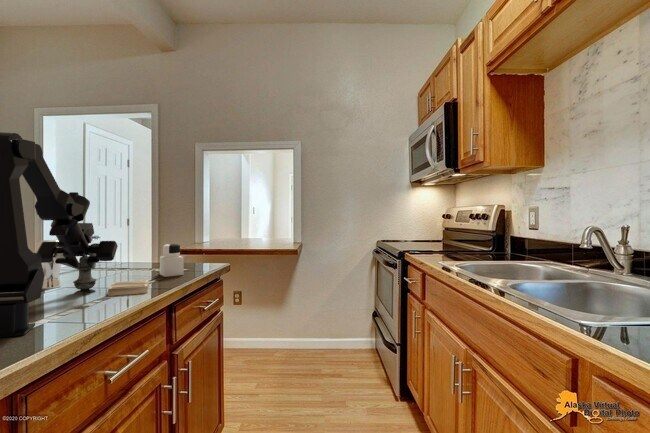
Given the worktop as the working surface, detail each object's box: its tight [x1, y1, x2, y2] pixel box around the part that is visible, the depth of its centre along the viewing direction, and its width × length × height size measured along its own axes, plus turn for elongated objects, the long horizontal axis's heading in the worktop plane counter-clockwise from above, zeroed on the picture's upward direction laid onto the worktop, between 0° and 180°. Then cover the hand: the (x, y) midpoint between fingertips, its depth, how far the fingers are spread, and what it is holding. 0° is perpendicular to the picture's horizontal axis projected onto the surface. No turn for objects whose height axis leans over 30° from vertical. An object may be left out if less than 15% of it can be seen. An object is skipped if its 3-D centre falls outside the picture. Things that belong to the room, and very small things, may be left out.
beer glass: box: [34, 239, 62, 290], centre depth 107 cm, size 7×7×15 cm
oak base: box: [107, 279, 150, 297], centre depth 103 cm, size 10×10×2 cm
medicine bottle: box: [159, 243, 185, 278], centre depth 131 cm, size 7×7×12 cm
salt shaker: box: [72, 255, 98, 296], centre depth 101 cm, size 6×6×12 cm
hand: (87, 268), depth 102 cm, fingers closed on salt shaker, 4 cm apart
